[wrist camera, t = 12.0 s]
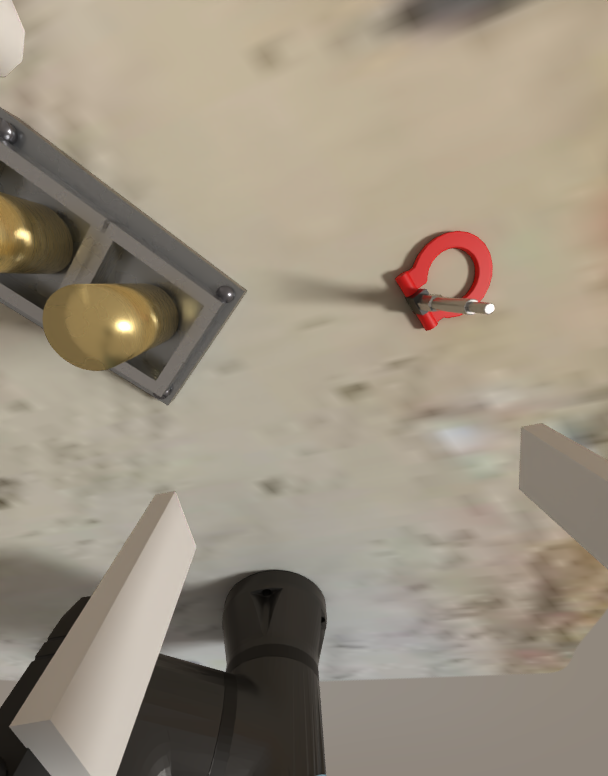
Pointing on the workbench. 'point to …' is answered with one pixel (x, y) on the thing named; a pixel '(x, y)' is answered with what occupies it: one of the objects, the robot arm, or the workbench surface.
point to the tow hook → (436, 305)
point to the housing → (100, 254)
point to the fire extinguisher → (10, 38)
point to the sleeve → (108, 322)
